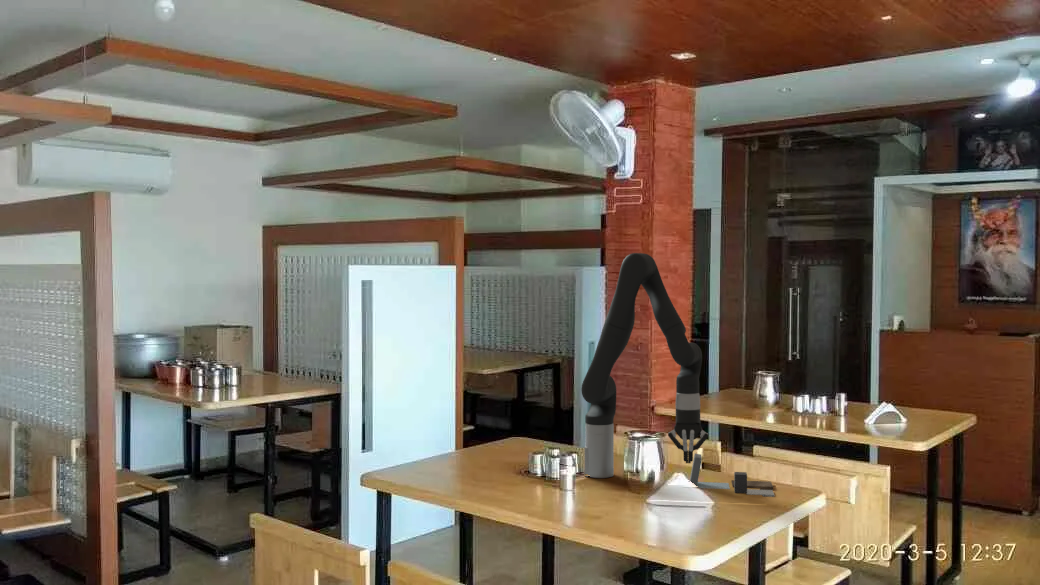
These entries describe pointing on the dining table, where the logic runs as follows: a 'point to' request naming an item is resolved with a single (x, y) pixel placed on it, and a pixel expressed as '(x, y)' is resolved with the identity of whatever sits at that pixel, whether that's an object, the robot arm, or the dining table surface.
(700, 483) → the mat
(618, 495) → the dining table surface
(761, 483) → the rest board
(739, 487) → the turner
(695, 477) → the tile
